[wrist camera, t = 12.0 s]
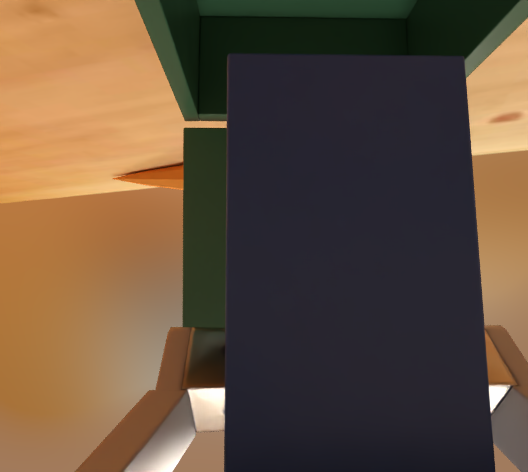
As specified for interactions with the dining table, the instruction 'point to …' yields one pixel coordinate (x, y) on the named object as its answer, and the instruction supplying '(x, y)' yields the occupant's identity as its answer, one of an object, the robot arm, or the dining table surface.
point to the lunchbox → (312, 35)
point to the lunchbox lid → (204, 227)
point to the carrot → (158, 177)
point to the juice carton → (352, 267)
